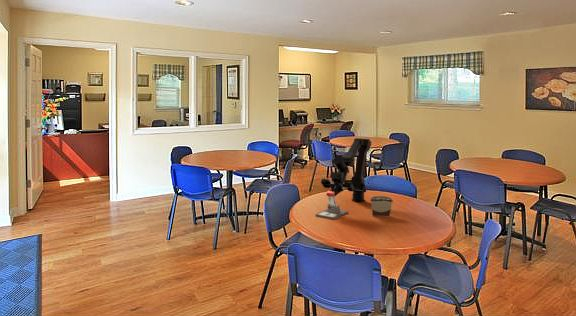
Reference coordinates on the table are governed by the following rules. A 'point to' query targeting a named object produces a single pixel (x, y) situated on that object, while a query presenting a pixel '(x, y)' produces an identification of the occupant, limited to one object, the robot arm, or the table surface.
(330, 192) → the lever
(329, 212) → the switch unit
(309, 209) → the table surface
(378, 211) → the food container
